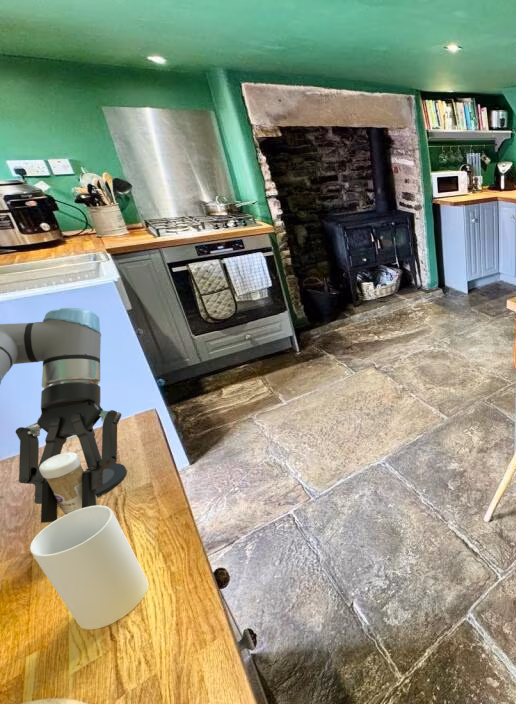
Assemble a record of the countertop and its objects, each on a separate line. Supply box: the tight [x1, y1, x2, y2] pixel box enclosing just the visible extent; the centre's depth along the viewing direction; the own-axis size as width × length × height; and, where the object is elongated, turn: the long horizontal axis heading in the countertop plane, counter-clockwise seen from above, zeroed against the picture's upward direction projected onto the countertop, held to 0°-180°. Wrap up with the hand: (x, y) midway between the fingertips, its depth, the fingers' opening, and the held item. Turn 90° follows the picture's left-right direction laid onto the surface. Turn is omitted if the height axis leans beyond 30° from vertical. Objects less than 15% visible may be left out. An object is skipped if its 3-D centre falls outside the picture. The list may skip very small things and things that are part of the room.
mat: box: [83, 462, 128, 498], centre depth 84 cm, size 10×10×1 cm
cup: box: [29, 504, 150, 631], centre depth 60 cm, size 8×8×16 cm
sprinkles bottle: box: [39, 451, 101, 515], centre depth 71 cm, size 5×5×13 cm
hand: (69, 516), depth 69 cm, fingers closed on sprinkles bottle, 4 cm apart
